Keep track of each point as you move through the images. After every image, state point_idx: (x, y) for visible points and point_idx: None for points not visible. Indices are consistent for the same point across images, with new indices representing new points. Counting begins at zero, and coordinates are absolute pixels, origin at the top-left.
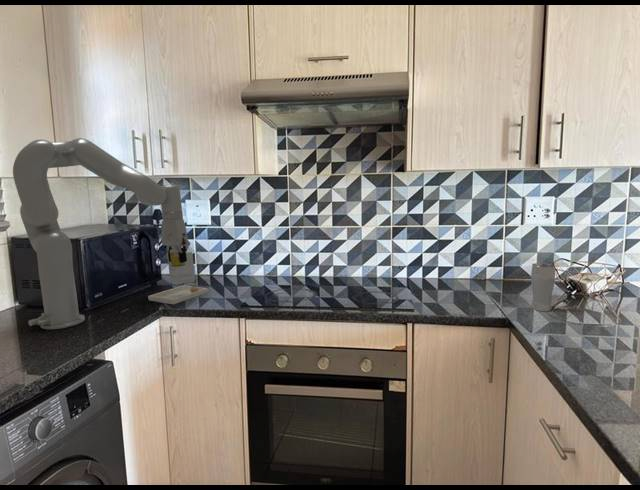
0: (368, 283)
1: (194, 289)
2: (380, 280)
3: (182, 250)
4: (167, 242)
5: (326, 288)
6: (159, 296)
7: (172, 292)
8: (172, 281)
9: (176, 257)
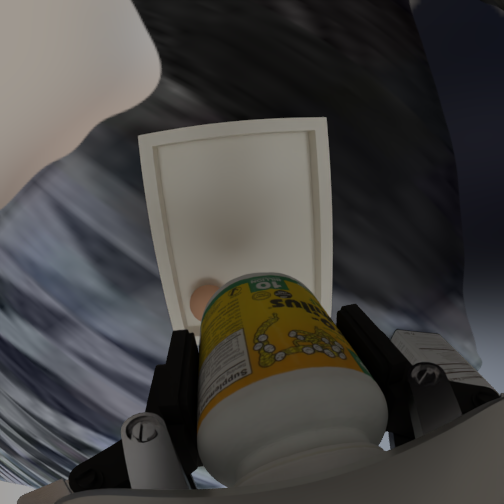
0: (21, 467)
1: (193, 298)
2: (28, 478)
3: (127, 447)
4: (442, 488)
5: (23, 443)
6: (312, 172)
7: (316, 250)
8: (428, 337)
9: (218, 349)
